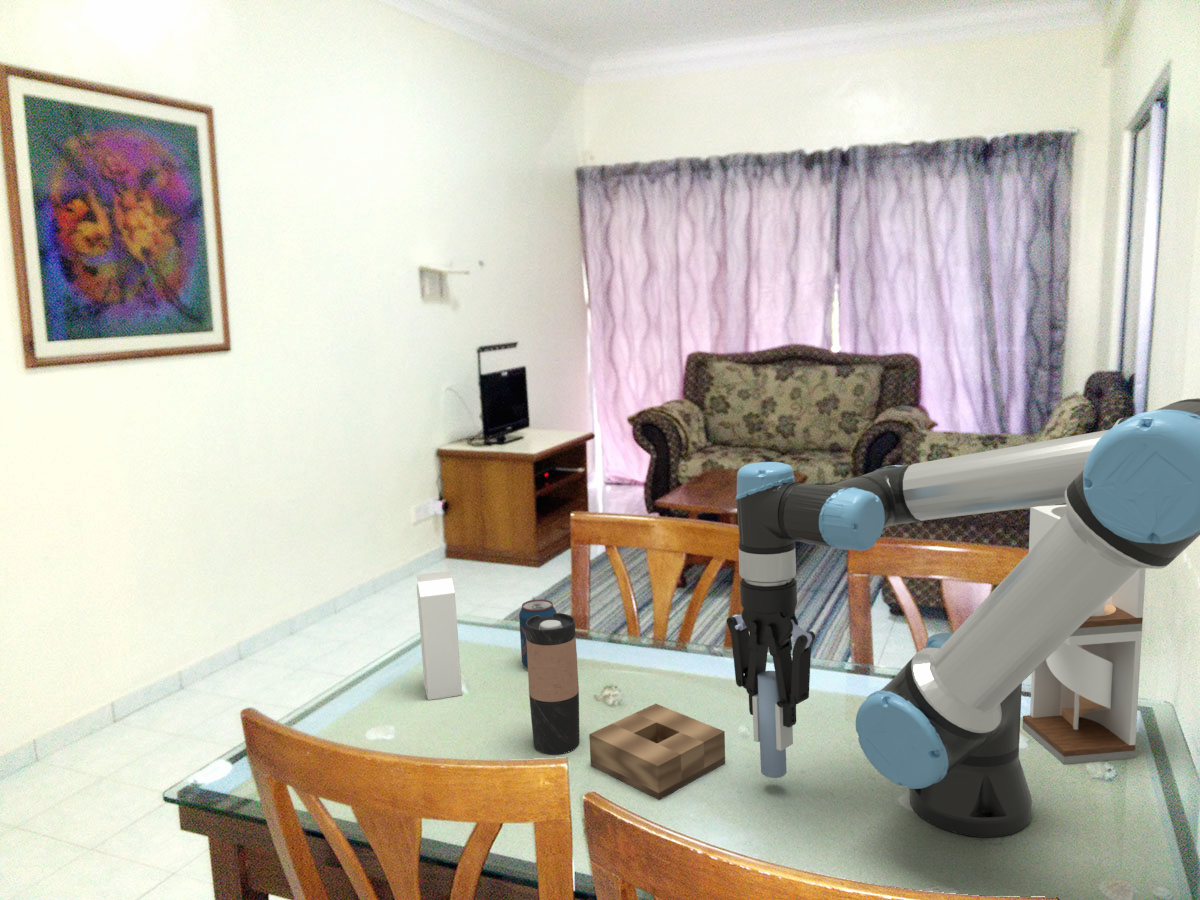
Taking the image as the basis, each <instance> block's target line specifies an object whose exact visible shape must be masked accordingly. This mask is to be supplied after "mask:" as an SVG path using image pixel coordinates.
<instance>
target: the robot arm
mask: <svg viewBox="0 0 1200 900" xmlns="http://www.w3.org/2000/svg"><path fill="white" fill-rule="evenodd" d="M735 501H736V513H737V526H738V527H737V529H738V539H739V540H738V573H739V574H738V575H739V577H741V580H740V581H739V591H740V592H739V593H740V595H739V596H740V605H741V607H742V611H741V612H739V613H736V614H733V615H732V616H730V617H729V616H728V617H727V618H726V625H727V627H728V629H729V633H730V635H731V646H732V657H733V665H734V667H733V668H734V676H735V683H736V685H737V687H739V688H741V687H743V688H744V689H745V690H746V693H747V694H748V710H749V714H750V716H751V715H752V721H753V722H752V723H753V724H752V726H753V741H754V742H756V743H760V729H759V699H758V674H759V673H761V672H763V671H767V661H768V654H769V655H770V656H771V657H772V661H773V667H774V671H775V674H776V680H777V686H778V692H779V699H780V701H779V702H777V703H776V704H775V719H776V749H777V750H780V751H782V750H783V749H785V748H786V749H787V748H788V747H791V746H792V745H793V744H794V741H793V740H794V734H793V732H794V730H793V729H794V728H793V726H795V725H796V724H797V705H798V704H800V703H803V702H804V701H806V700H808V699H809V697H810V680H811V661H812V660H811V656H812V646H813V645H814V642H815V639H816V634H815V632H813V630H812V631H808V632H807V631H805V630H804V629H803V628H802V627H800V626H799V621H798V618H797V616H796V608H797V605H798V586H797V585H798V584H797V583H798V582H797V580H796V578H795V576H797V575H796V574H797V563H796V562H797V560H796V559H797V558H796V555H797V554H796V542H801V543H806V544H812V545H817V546H823V547H829V548H833V549H836V550H840V551H859V552H860V551H861V552H863V551H867V550H870V549H872V548H873V547H874V546H875V545H876V542H877V541H878V540H879V539H880V538H881V536H882V534H883V530H884V528H888V527H892V526H898V525H902V524H911V523H912V524H913V523H917V522H923V521H928V520H930V521H931V520H937V519H946V518H956V517H962V516H969V515H970V516H971V515H980V514H987V513H996V512H1002V511H1003V512H1004V511H1011V510H1012V511H1013V510H1021V509H1028V508H1029V509H1030V507H1038V506H1052V505H1064V504H1065V505H1067V512H1066V513H1065V514H1064V515H1063V516H1062V517H1061V518H1060V519H1059V520H1058V521H1057V522H1056V524H1055V525H1054V526H1053V527H1052V528H1051V529H1050V530H1049V531H1048V532H1047V533H1046V534H1045V535H1044V536H1043V538H1042V539H1041V540H1040V541H1039V542H1038V543H1037V544H1036V545H1035V546H1034V547H1033V548H1032V549H1031V550H1030V552H1029V551H1028V553H1026V555H1025V556H1024V557H1023V558H1022V559H1021V560H1019V562H1018V563H1017V565H1016V566H1014V568H1013V569H1012V570H1011V571H1010V572H1009V573H1008V574H1007V575H1006V577H1004V579H1002V581H1001V582H1000V583H999V584H998V585H997V586H996V587H995V588H994V589H993V591H991V593H990V594H989V595H988V596H987V597H986V598H985V599H984V600H982V602H981V604H979V605H978V607H976V609H975V610H974V611H973V612H972V613H971V614H970V615H969V616H968V617H967V618H966V619H965V621H964V622H962V624H961V625H959V627H958V628H957V629H956V630H955V631H954V632H941V633H940V632H939V633H936V634H932V635H930V636H928V638H927V639H926V642H925V647H924V648H922V649H920V650H919V651H917V652H916V653H915V654H914V655H913V656H912V658H911V659H910V660H908V662H907V663H906V664H905V665H904V666H903V667H902V668H901V669H900V671H899V672H898V673H897V674H896V675H895V676H894V677H893V678H892V679H891V680H890V682H889V683H887V684H886V685H885V686H884V687H883V688H882V689H880V690H876V691H874V692H872V693H870V694H869V695H868V696H867V698H866V699H865V700H864V701H863V702H862V703H861V704H860V706H859V707H858V710H857V713H856V716H855V732H856V733H857V735H858V738H857V740H858V743H859V745H860V749H861V750H862V753H863V754H864V756H865V758H866V759H867V761H868V762H869V763H870V764H871V766H872V767H873V768H874V769H875V770H876V771H877V772H878V773H879V774H880V775H881V776H883V777H884V778H885V779H887V780H889V782H892V783H893V784H896V785H897V786H903V787H905V788H908V789H909V802H910V805H911V808H912V809H913V810H914V812H915V813H916V814H917V815H918V816H920V817H921V818H922V819H923V820H925V821H926V822H928V823H930V824H932V825H934V826H936V827H938V828H940V829H943V830H946V831H949V832H951V833H955V834H959V835H963V836H970V837H978V838H980V837H981V838H993V837H994V838H995V837H996V838H997V837H1004V836H1008V835H1012V834H1016V833H1017V832H1020V831H1022V830H1023V829H1025V828H1026V827H1027V826H1028V825H1029V824H1030V822H1031V820H1032V815H1033V814H1032V812H1033V810H1032V804H1033V799H1032V795H1031V791H1030V788H1029V785H1028V782H1027V779H1026V775H1025V772H1024V770H1023V766H1022V764H1021V763H1022V762H1021V761H1020V737H1021V735H1020V734H1021V714H1022V712H1021V710H1022V690H1023V689H1022V686H1023V682H1024V681H1025V680H1026V679H1027V678H1028V677H1029V676H1030V675H1032V672H1033V671H1034V670H1035V669H1036V668H1037V667H1038V666H1039V665H1040V664H1041V663H1043V662H1044V661H1045V660H1046V659H1047V658H1048V657H1049V656H1050V655H1051V654H1052V653H1053V652H1054V651H1055V650H1056V649H1057V648H1058V647H1059V646H1060V645H1061V644H1062V643H1063V642H1064V641H1065V640H1066V639H1067V638H1068V637H1069V636H1070V635H1071V634H1073V633H1074V632H1075V631H1076V630H1077V629H1078V628H1079V627H1080V626H1081V625H1082V624H1083V623H1084V622H1085V621H1086V620H1087V619H1088V618H1089V617H1090V616H1091V615H1092V614H1093V613H1094V612H1095V611H1096V610H1097V609H1098V608H1099V607H1100V606H1102V605H1103V604H1104V603H1105V602H1106V601H1107V600H1108V599H1109V598H1110V597H1111V596H1112V595H1113V594H1114V593H1115V592H1116V591H1117V590H1118V589H1119V588H1120V587H1121V586H1122V585H1123V584H1124V583H1125V582H1126V581H1127V580H1128V579H1129V578H1130V577H1132V576H1133V575H1134V574H1135V573H1136V572H1137V571H1138V570H1139V569H1140V568H1146V569H1156V570H1159V569H1165V568H1166V567H1168V565H1170V564H1171V563H1172V562H1173V561H1174V560H1175V559H1176V558H1177V557H1178V556H1180V554H1182V553H1183V552H1184V551H1185V550H1187V548H1188V547H1189V546H1190V545H1191V544H1192V543H1193V542H1194V541H1195V540H1196V539H1197V538H1198V537H1200V397H1199V398H1198V397H1197V398H1187V399H1183V400H1179V401H1176V402H1173V403H1169V404H1167V405H1165V406H1162V407H1160V408H1158V409H1155V410H1154V409H1152V410H1150V411H1149V410H1148V411H1145V412H1141V413H1137V414H1135V415H1132V416H1127V417H1122V418H1119V419H1117V420H1116V422H1115V423H1114V425H1113V426H1112V427H1110V429H1105V430H1100V431H1093V432H1089V433H1083V434H1075V435H1071V436H1064V437H1061V438H1054V439H1053V438H1052V439H1048V440H1043V441H1036V442H1031V443H1025V444H1021V445H1019V444H1018V445H1015V446H1008V447H1004V448H1003V447H1002V448H997V449H996V448H995V449H991V450H986V451H979V452H974V453H968V454H962V455H957V456H952V457H945V458H940V459H934V460H930V461H923V462H917V463H912V464H907V465H906V464H905V465H901V464H895V465H889V466H885V467H879V468H877V469H875V470H873V471H872V472H868V473H865V474H862V475H860V476H855V477H852V478H849V479H846V480H842V481H839V482H837V483H833V484H829V485H828V484H827V485H824V484H810V483H804V482H799V481H796V477H795V472H794V469H793V467H792V466H791V465H790V464H788V463H784V462H778V461H761V462H760V461H759V462H752V463H748V464H745V465H743V466H742V467H740V468H739V469H738V471H737V473H736V496H735ZM792 637H793V640H792ZM768 652H769V653H768Z"/></svg>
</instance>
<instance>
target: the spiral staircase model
mask: <svg viewBox="0 0 1200 900" xmlns="http://www.w3.org/2000/svg"><path fill="white" fill-rule="evenodd" d="M1029 510H1030V511H1029V532H1028V534H1029V536H1028V537H1029V538H1028V553H1029V552H1030V550H1031V549H1032V548H1033V547H1034V546H1035V545H1036V544H1037V543H1038V542H1039V541H1040V540H1041V539H1042V538H1043V536H1044V535H1045V534H1046V533H1047V532H1048V531H1049V530H1050V529H1051V528H1052V527H1053V526H1054V525H1055V524H1056V522H1057V521H1058V520H1059V519H1060V518H1061V517H1062V516H1063V515H1064V514H1065V513H1066V512H1067V505H1066V504H1055V505H1046V506H1038V507H1030V508H1029ZM1146 570H1147V568H1140V569H1139V570H1138V571H1137V572H1136V573H1135V574H1134V575H1133V576H1132V577H1130V578H1129V579H1128V580H1127V581H1126V582H1125V583H1124V584H1123V585H1122V586H1121V587H1120V588H1119V589H1118V590H1117V591H1116V592H1115V593H1114V594H1113V595H1112V596H1111V597H1110V598H1109V599H1108V600H1107V601H1106V602H1105V603H1104V604H1103V605H1102V606H1100V607H1099V608H1098V609H1097V610H1096V611H1095V612H1094V613H1093V614H1092V615H1091V616H1090V617H1089V618H1088V619H1087V620H1086V621H1085V622H1084V623H1083V624H1082V625H1081V626H1080V627H1079V628H1078V629H1077V630H1076V631H1075V632H1074V633H1073V634H1071V635H1070V636H1069V637H1068V638H1067V639H1066V640H1065V641H1064V642H1063V643H1062V644H1061V645H1060V646H1059V647H1058V648H1057V649H1056V650H1055V651H1054V652H1053V653H1052V654H1051V655H1050V656H1049V657H1048V658H1047V659H1046V660H1045V661H1044V662H1043V663H1041V664H1040V665H1039V666H1038V667H1037V668H1036V669H1035V670H1034V671H1033V672H1032V673H1031V682H1030V684H1031V685H1030V705H1029V706H1030V708H1029V710H1030V713H1029V714H1030V715H1029V714H1028V715H1022V726H1021V727H1022V729H1023V730H1024V732H1026V733H1027V734H1028V735H1030V737H1032V738H1033V739H1034V740H1035V741H1037V743H1038V744H1040V745H1041V746H1042V747H1043V748H1044V749H1045V750H1046V751H1048V753H1051V754H1050V755H1052V756H1053V757H1054V758H1056V759H1057V760H1058V761H1059V762H1060V763H1062V764H1063V765H1070V764H1071V765H1073V764H1074V765H1075V764H1082V763H1083V764H1084V763H1097V762H1106V761H1117V760H1130V759H1135V756H1136V740H1137V739H1136V738H1137V725H1138V724H1137V722H1138V709H1139V708H1138V705H1139V690H1140V689H1139V687H1140V672H1141V655H1142V654H1141V653H1142V637H1143V636H1142V635H1143V623H1144V622H1143V619H1144V618H1143V617H1144V603H1145V585H1146Z"/></svg>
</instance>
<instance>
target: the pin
mask: <svg viewBox="0 0 1200 900" xmlns="http://www.w3.org/2000/svg"><path fill="white" fill-rule="evenodd" d="M758 699H759V729H760V742H759V751H760V753H759V754H760V756H759V757H760V774H761V775H763V776H765V777H767V778H770V779H776V778H782V777H784V776H786V774H787V748H785V749H783V750H782V751H780V750H777V749H776V719H775V704H776V703H777V702H779V701H780V699H779V692H778V686H777V680H776V674H775V670H766V671H763V672H761V673H759V674H758Z"/></svg>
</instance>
